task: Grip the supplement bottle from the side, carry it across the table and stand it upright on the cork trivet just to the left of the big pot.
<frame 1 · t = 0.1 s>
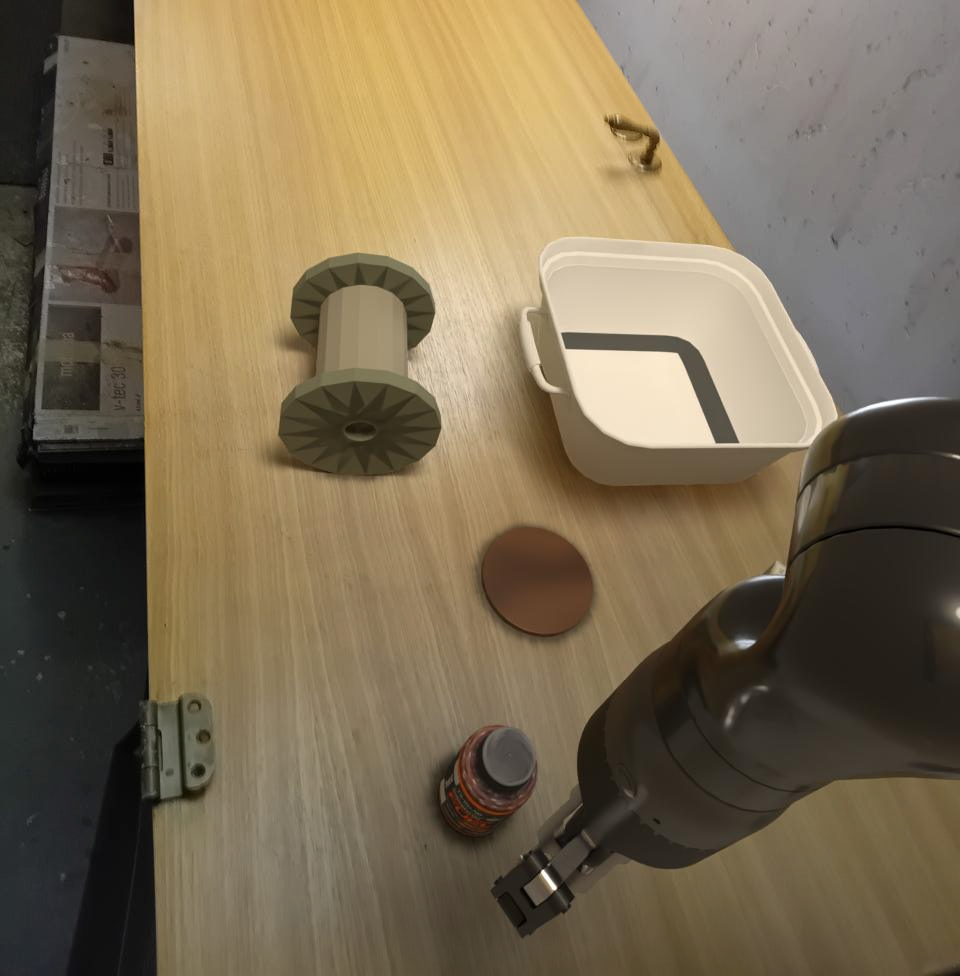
hand: (576, 836, 48), 21 cm above the workbench, tool pointing down, fingers open, 8 cm apart
pot: (633, 416, 99), on the workbench
box: (736, 642, 83), on the workbench
supplement bottle: (472, 797, 68), on the workbench
spool: (352, 409, 91), on the workbench
trivet: (536, 580, 82), on the workbench
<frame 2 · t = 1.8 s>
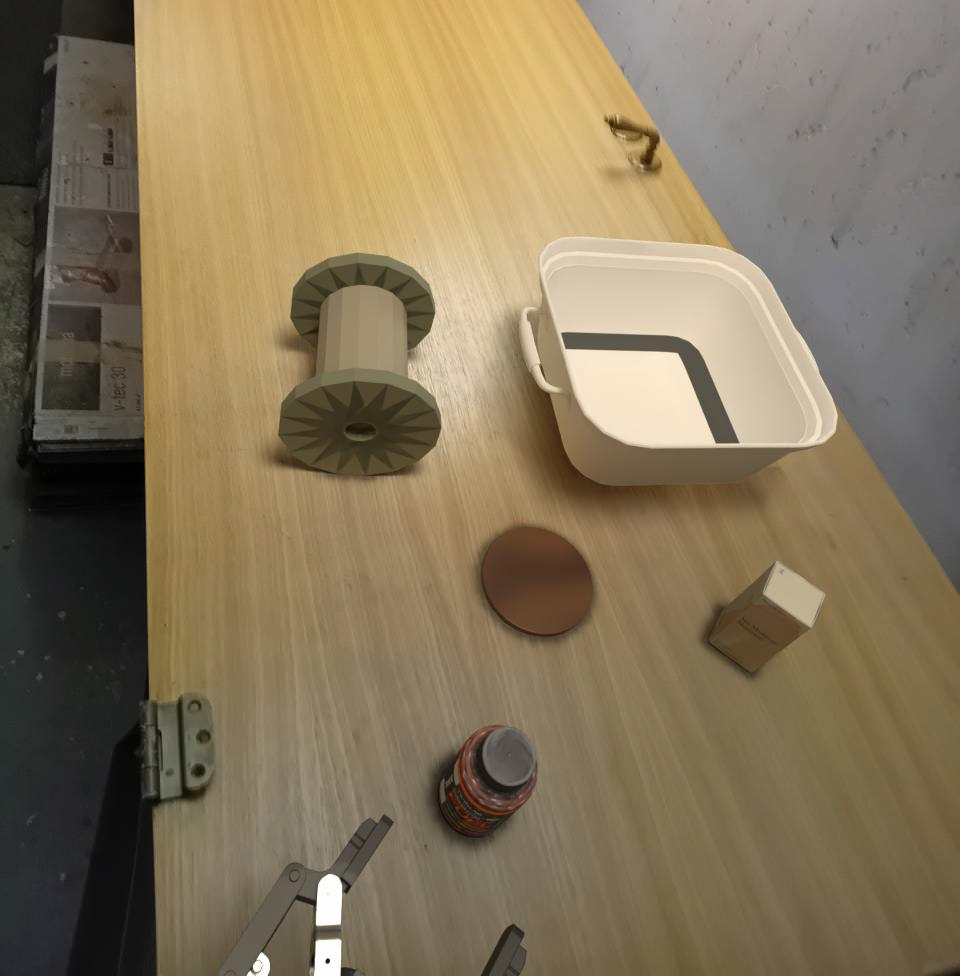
hand: (449, 873, 45), 21 cm above the workbench, tool horizontal, fingers open, 8 cm apart
nothing on the workbench moved.
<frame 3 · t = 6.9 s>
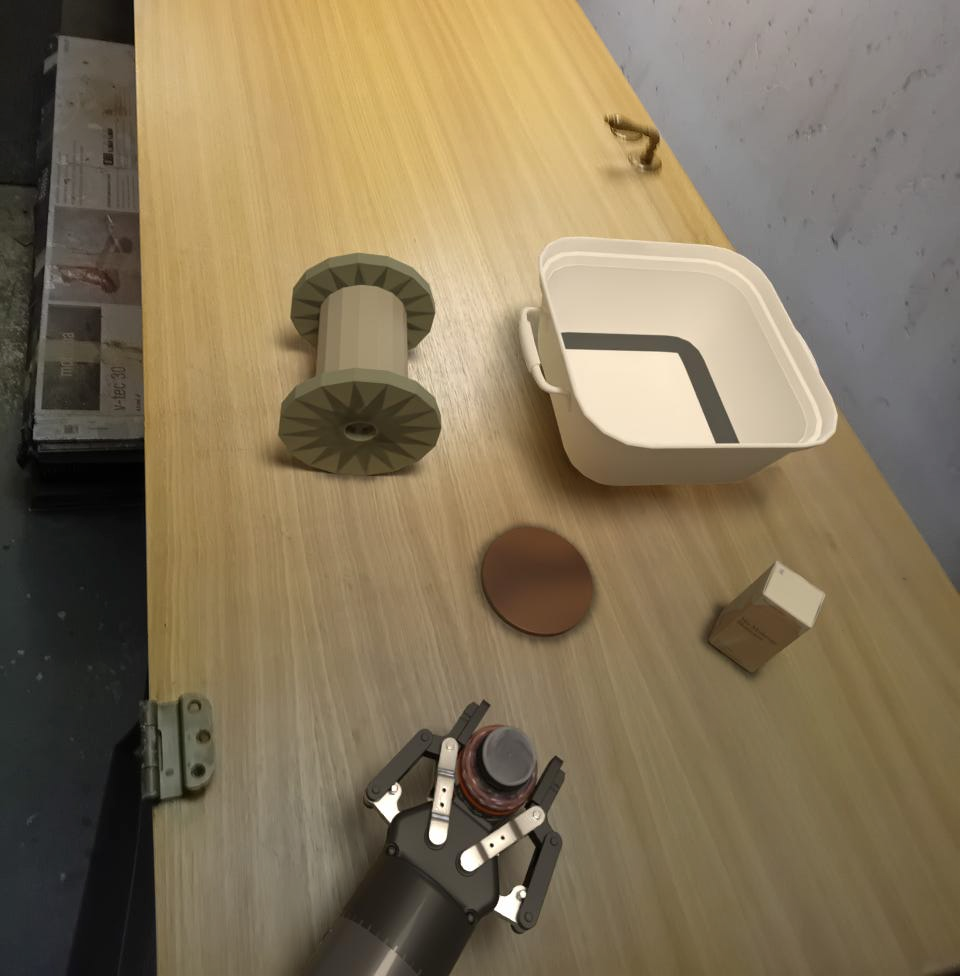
hand: (519, 733, 63), 10 cm above the workbench, tool horizontal, fingers closed on supplement bottle, 6 cm apart
supplement bottle: (472, 797, 68), on the workbench, touching gripper
everything else where it was.
when the fingers open (10 cm above the workbench, at t = 15.2 s): supplement bottle stays where it is, resting on trivet.
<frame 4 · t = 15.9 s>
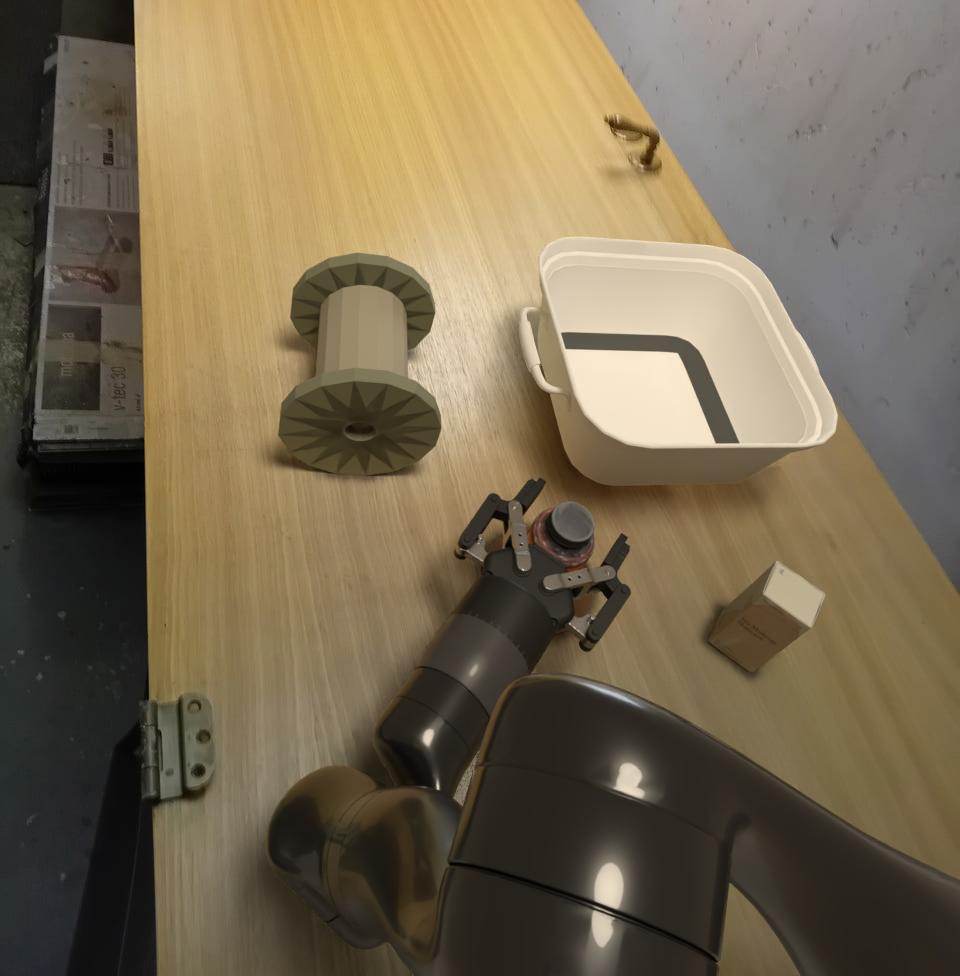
hand: (580, 511, 75), 11 cm above the workbench, tool horizontal, fingers open, 8 cm apart
supplement bottle: (536, 579, 82), resting on trivet
everything else where it was.
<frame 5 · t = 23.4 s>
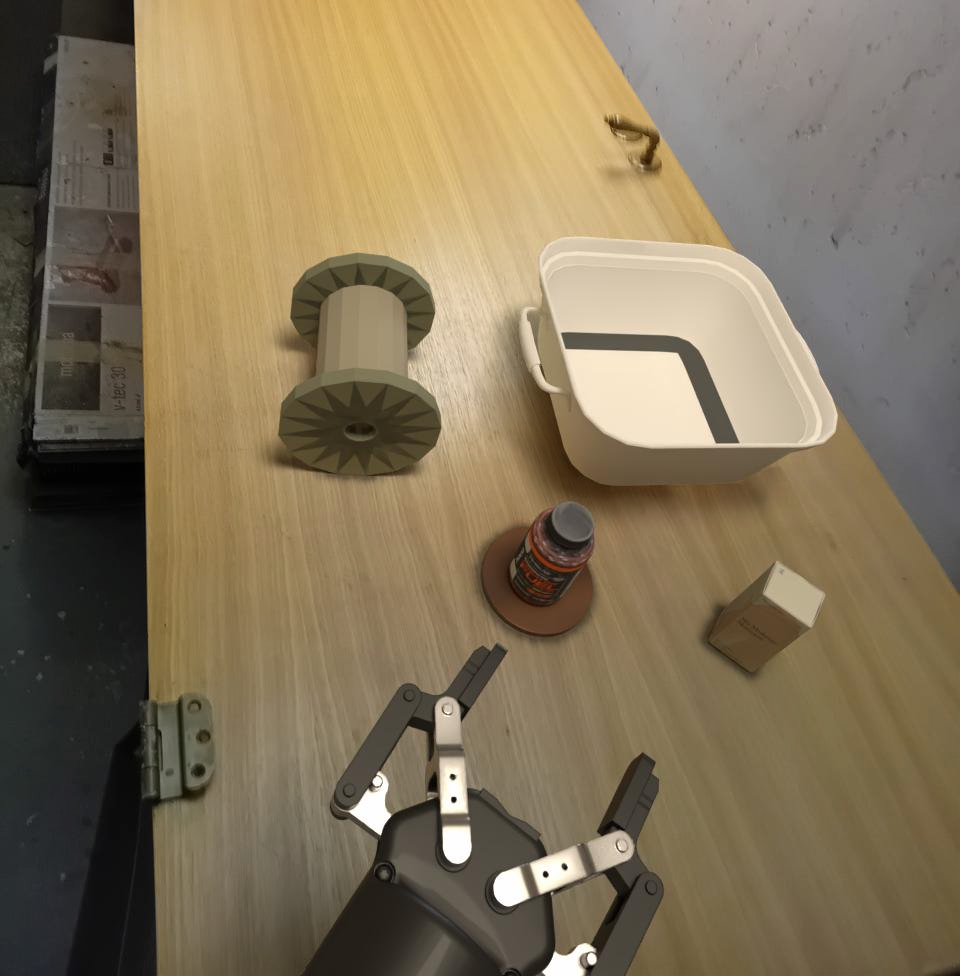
hand: (569, 704, 42), 32 cm above the workbench, tool horizontal, fingers open, 8 cm apart
nothing on the workbench moved.
at the end: supplement bottle inside the target area on the workbench beside the pot (0.2 cm from its centre), point 0.6 cm above the workbench; supplement bottle tilted 0°; the gripper is holding nothing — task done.
